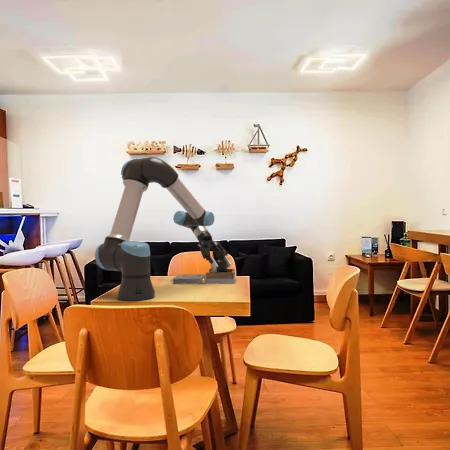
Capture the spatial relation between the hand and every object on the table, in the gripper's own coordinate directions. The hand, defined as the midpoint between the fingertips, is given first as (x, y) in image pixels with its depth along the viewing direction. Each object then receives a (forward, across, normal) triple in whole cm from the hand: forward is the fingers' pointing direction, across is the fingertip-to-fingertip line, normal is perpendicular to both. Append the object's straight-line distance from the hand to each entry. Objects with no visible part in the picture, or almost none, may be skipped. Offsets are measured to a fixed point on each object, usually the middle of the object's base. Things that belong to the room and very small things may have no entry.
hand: (223, 266), depth 200 cm
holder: (+2, -1, -5) cm, 6 cm away
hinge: (-1, +5, -12) cm, 13 cm away
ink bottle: (+1, 0, -5) cm, 5 cm away
